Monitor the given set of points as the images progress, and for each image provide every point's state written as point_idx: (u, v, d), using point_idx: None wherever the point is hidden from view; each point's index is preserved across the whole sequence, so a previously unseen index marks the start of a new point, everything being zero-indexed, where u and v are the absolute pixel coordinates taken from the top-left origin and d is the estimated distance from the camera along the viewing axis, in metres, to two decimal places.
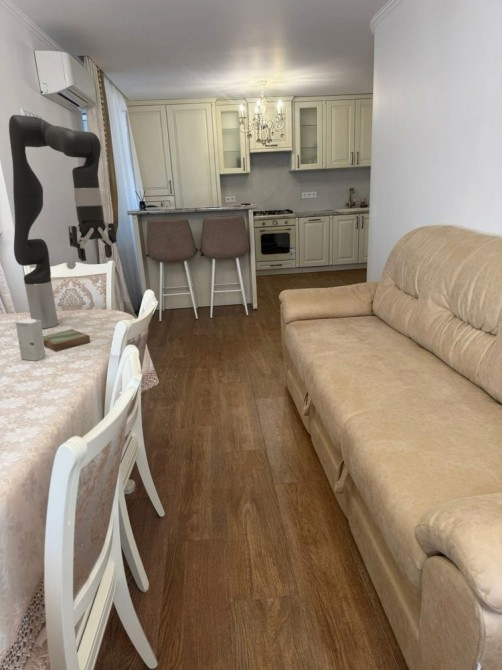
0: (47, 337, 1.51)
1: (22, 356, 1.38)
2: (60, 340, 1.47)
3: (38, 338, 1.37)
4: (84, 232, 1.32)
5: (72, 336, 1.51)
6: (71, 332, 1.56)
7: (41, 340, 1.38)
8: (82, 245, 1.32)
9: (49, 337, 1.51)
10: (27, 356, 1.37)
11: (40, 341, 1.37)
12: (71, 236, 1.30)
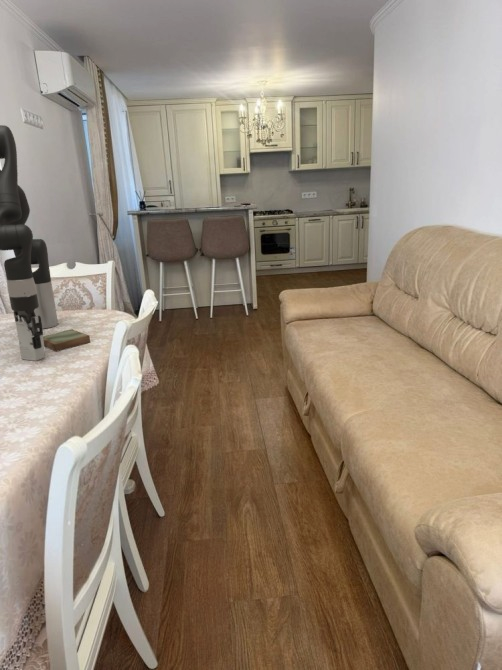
0: (47, 337, 1.51)
1: (22, 356, 1.38)
2: (60, 340, 1.47)
3: None
4: None
5: (72, 336, 1.51)
6: (71, 332, 1.56)
7: (41, 340, 1.38)
8: None
9: (49, 337, 1.51)
10: (27, 356, 1.37)
11: None
12: (38, 326, 1.32)
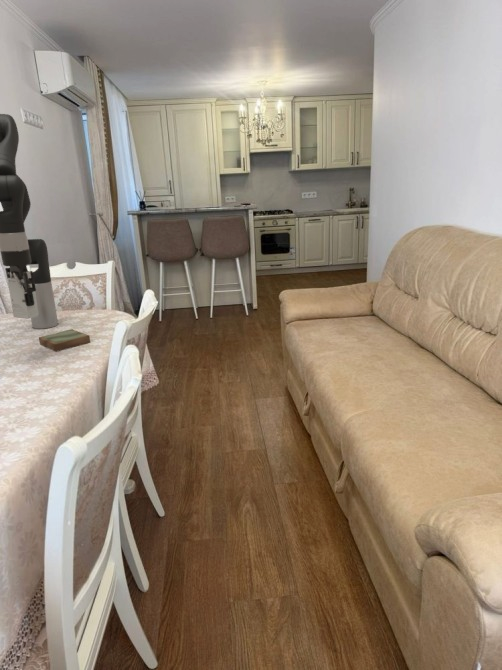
0: (47, 337, 1.51)
1: (14, 314, 1.34)
2: (60, 340, 1.47)
3: None
4: None
5: (72, 336, 1.51)
6: (71, 332, 1.56)
7: (34, 298, 1.34)
8: None
9: (49, 337, 1.51)
10: (19, 314, 1.33)
11: None
12: (30, 282, 1.28)
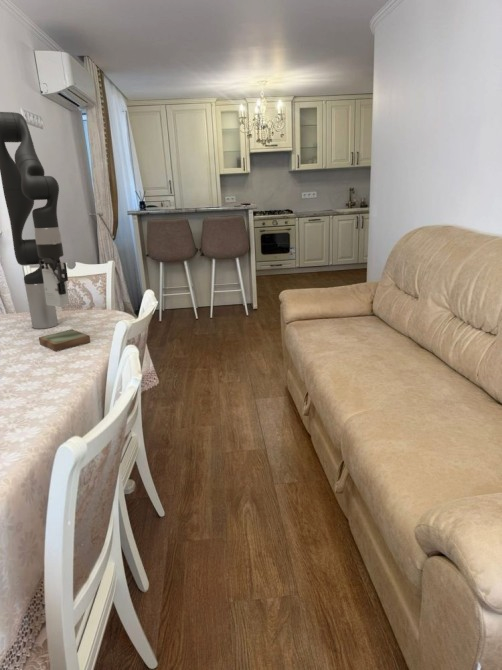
0: (47, 337, 1.51)
1: (47, 302, 1.47)
2: (60, 340, 1.47)
3: None
4: None
5: (72, 336, 1.51)
6: (71, 332, 1.56)
7: (65, 287, 1.47)
8: None
9: (49, 337, 1.51)
10: (52, 302, 1.46)
11: None
12: (63, 272, 1.41)
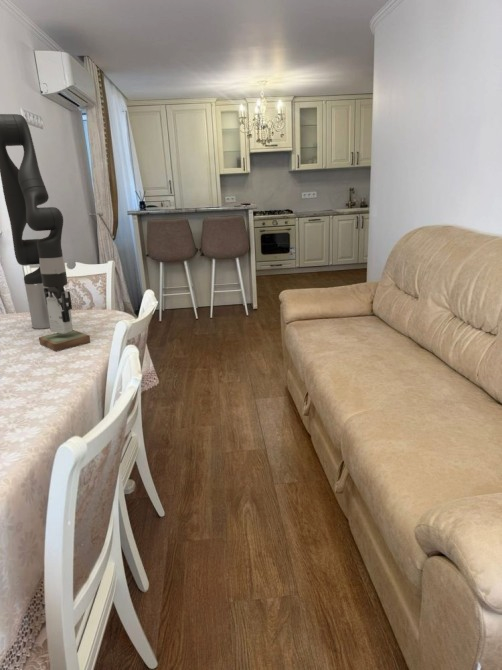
0: (47, 337, 1.51)
1: (52, 329, 1.49)
2: (60, 340, 1.47)
3: None
4: None
5: (72, 336, 1.51)
6: (71, 332, 1.56)
7: (69, 315, 1.50)
8: None
9: (49, 337, 1.51)
10: (56, 329, 1.49)
11: None
12: (67, 301, 1.43)
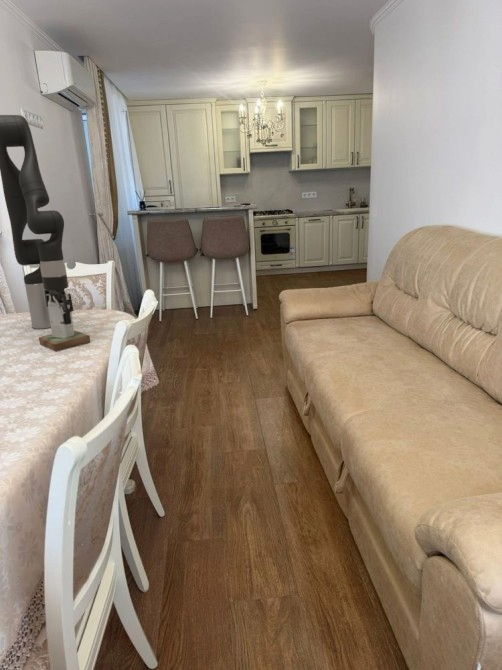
0: (47, 337, 1.51)
1: (53, 334, 1.50)
2: (60, 340, 1.47)
3: None
4: None
5: (72, 336, 1.51)
6: None
7: None
8: None
9: (49, 337, 1.51)
10: (57, 334, 1.49)
11: None
12: (68, 303, 1.44)
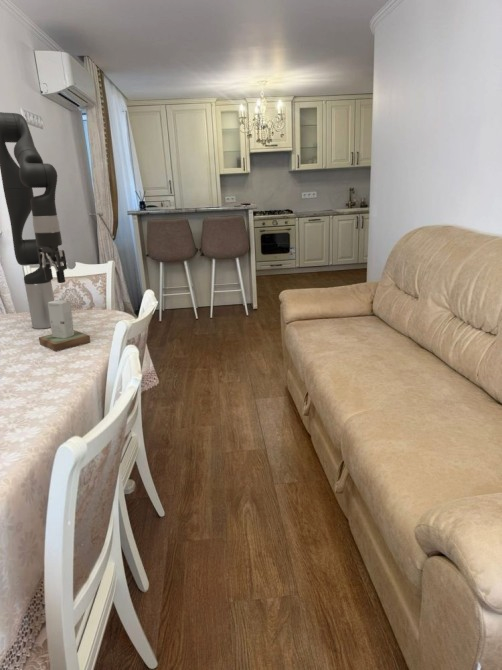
0: (47, 337, 1.51)
1: (53, 334, 1.50)
2: (60, 340, 1.47)
3: (68, 318, 1.49)
4: None
5: (72, 336, 1.51)
6: None
7: (70, 319, 1.50)
8: None
9: (49, 337, 1.51)
10: (57, 334, 1.49)
11: (69, 320, 1.50)
12: (62, 260, 1.39)
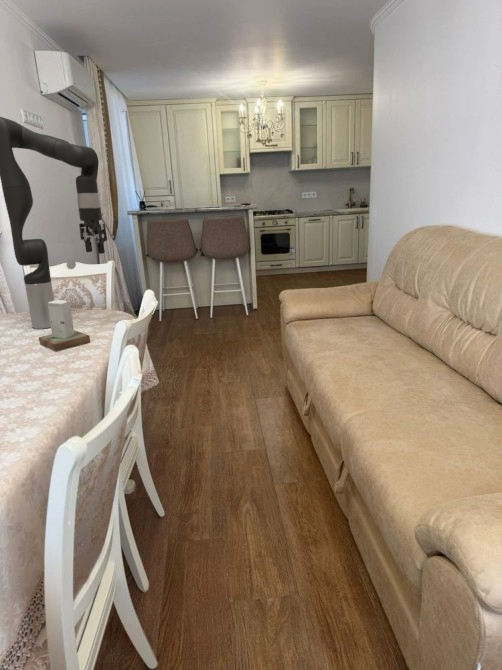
0: (47, 337, 1.51)
1: (53, 334, 1.50)
2: (60, 340, 1.47)
3: (68, 318, 1.49)
4: None
5: (72, 336, 1.51)
6: None
7: (70, 319, 1.50)
8: None
9: (49, 337, 1.51)
10: (57, 334, 1.49)
11: (69, 320, 1.50)
12: (103, 232, 1.57)
